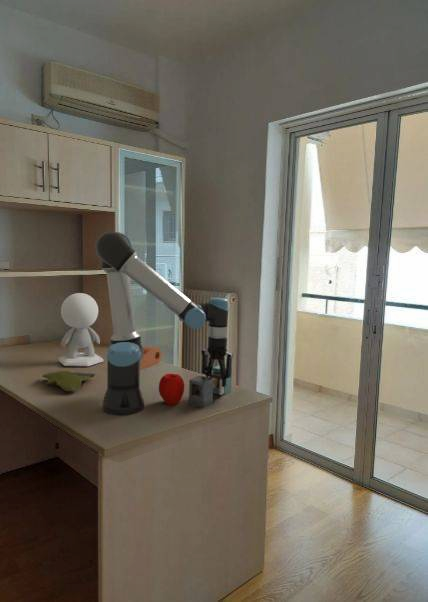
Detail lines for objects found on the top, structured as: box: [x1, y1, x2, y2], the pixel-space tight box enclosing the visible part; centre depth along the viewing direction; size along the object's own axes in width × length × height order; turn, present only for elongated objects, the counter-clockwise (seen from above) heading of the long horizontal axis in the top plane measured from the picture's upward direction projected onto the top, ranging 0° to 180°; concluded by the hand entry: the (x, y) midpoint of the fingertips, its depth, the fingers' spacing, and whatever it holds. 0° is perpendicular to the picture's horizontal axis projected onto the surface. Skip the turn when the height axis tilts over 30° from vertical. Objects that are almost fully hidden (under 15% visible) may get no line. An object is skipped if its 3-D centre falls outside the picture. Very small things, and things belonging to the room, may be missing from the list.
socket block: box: [212, 364, 233, 396], centre depth 185 cm, size 6×6×11 cm
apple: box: [158, 373, 185, 406], centre depth 170 cm, size 10×10×12 cm
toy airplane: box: [41, 370, 95, 392], centre depth 192 cm, size 28×22×5 cm
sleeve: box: [188, 375, 214, 409], centre depth 170 cm, size 7×6×10 cm
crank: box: [140, 345, 162, 371], centre depth 226 cm, size 20×8×8 cm, turn 154°
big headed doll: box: [57, 292, 105, 367], centre depth 227 cm, size 20×23×35 cm
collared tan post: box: [199, 372, 222, 391], centre depth 178 cm, size 16×5×5 cm, turn 151°
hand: (215, 392), depth 181 cm, fingers closed on collared tan post, 5 cm apart
